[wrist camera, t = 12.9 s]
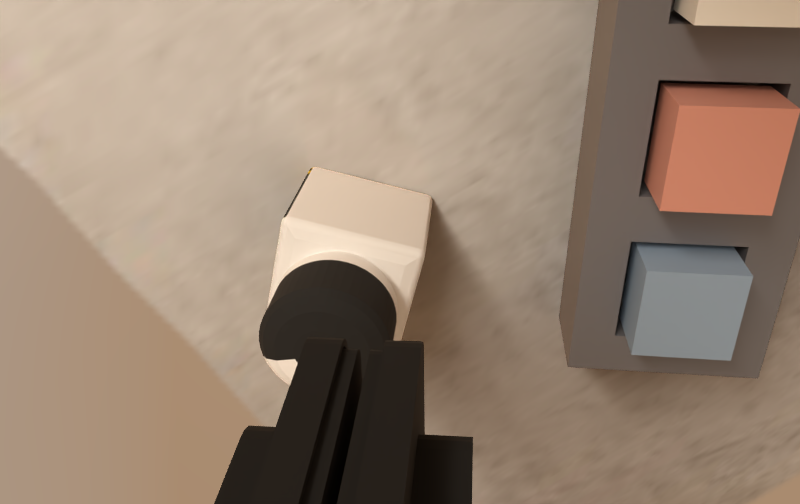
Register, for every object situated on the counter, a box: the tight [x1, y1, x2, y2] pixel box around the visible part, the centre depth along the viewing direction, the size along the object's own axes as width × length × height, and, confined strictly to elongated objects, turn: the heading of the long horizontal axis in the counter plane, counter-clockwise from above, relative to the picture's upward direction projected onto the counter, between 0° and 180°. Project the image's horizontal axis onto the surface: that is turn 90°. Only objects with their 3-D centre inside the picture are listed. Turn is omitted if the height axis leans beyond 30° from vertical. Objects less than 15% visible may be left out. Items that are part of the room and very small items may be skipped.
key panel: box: [559, 0, 800, 378], centre depth 35 cm, size 26×10×5 cm, turn 0°
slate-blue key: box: [620, 242, 753, 361], centre depth 37 cm, size 5×5×4 cm
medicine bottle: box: [259, 167, 432, 385], centre depth 38 cm, size 7×7×12 cm
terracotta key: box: [644, 83, 800, 216], centre depth 33 cm, size 5×5×4 cm
